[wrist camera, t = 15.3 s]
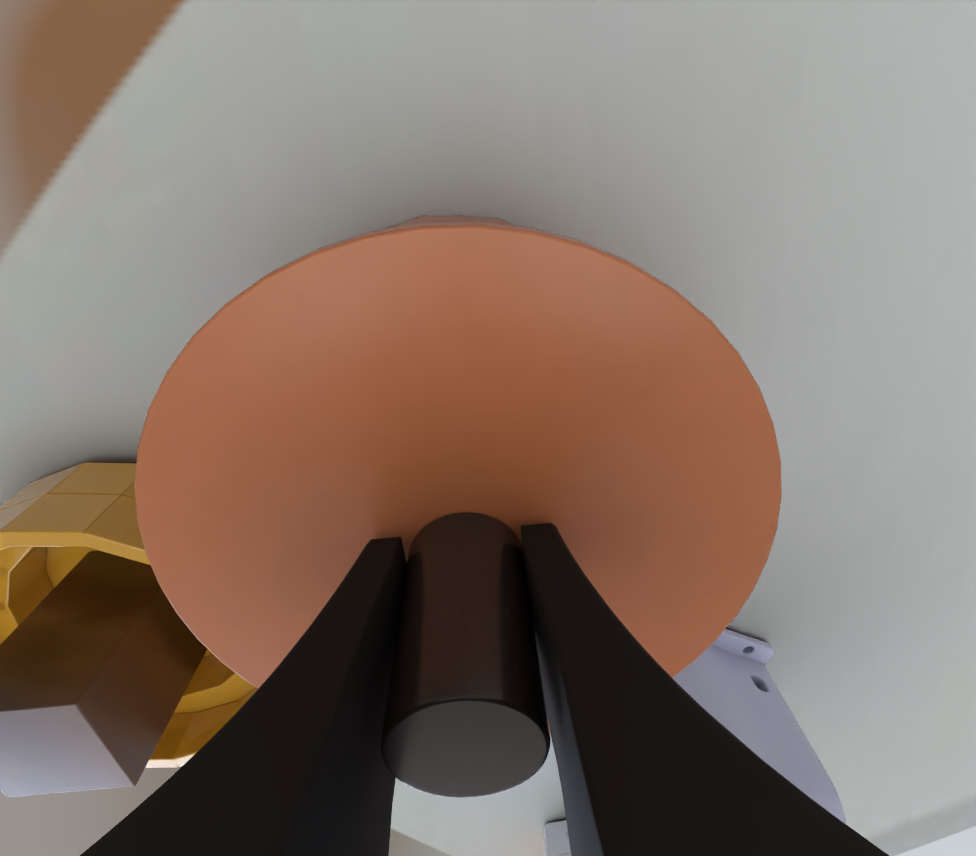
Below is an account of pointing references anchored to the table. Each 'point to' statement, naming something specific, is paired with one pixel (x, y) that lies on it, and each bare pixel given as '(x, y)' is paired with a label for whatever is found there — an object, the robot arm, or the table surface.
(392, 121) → the table surface
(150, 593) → the walnut block
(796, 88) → the table surface
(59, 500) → the bowl
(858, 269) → the table surface
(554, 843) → the cosmetic box
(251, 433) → the lid
